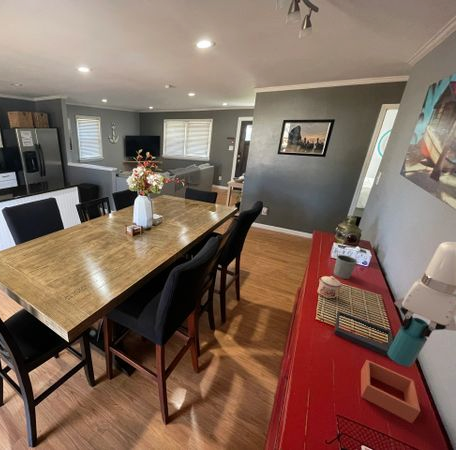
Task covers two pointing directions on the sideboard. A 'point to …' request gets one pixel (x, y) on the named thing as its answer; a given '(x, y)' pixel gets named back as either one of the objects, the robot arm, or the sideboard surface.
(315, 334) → the sideboard surface
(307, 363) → the sideboard surface
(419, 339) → the bottle
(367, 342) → the dark gray rectangular frame
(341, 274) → the grey cup
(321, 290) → the teacup with lid
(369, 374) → the bin
